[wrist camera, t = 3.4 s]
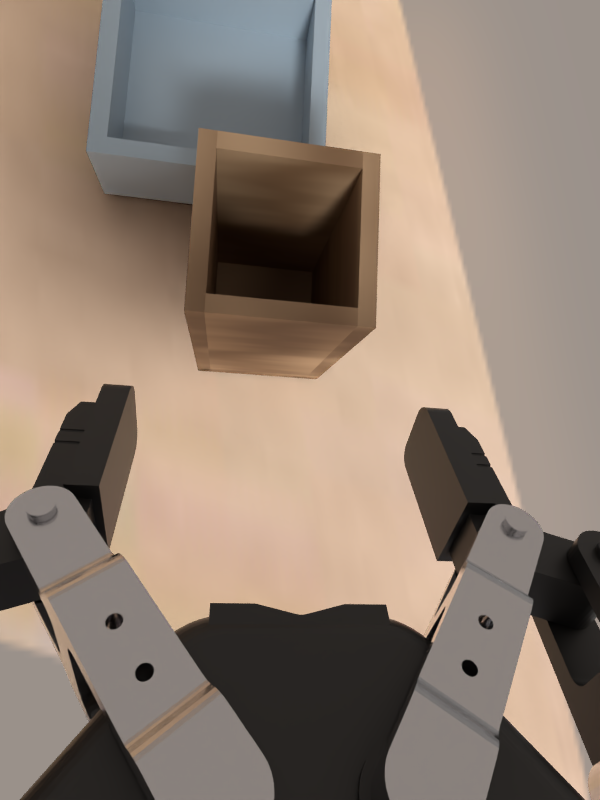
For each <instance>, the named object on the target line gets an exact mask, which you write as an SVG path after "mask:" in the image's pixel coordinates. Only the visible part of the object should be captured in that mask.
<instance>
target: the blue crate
mask: <svg viewBox="0 0 600 800" xmlns="http://www.w3.org/2000/svg"><path fill="white" fill-rule="evenodd" d="M331 4H332V0H103V3H102V12H101V21H100V30H99V39H98V48H97V57H96V66H95V75H94V84H93V93H92V102H91V111H90V120H89V129H88V138H87V147H86V152H87V154H88V157H89V159H90V161H91V164H92V166H93V168H94V171H95V173H96V175H97V177H98V180H99V182H100V184H101V187H102V189H103V191H104V193H105V194H113V195H121V196H129V197H137V198H146V199H154V200H162V201H170V202H178V203H186V204H193V193H194V180H195V168H196V155H197V143H198V130H199V128H204V129H211V130H217V131H224V132H231V133H238V134H245V135H252V136H259V137H266V138H272V139H279V140H286V141H293V142H300V143H307V144H314V145H320V146H325V143H326V120H327V97H328V74H329V50H330V27H331Z"/></svg>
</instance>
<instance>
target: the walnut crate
mask: <svg viewBox="0 0 600 800" xmlns="http://www.w3.org/2000/svg"><path fill="white" fill-rule="evenodd" d="M380 155H381V154H375V153H368V152H362V151H355V150H348V149H341V148H334V147H327V146H320V145H314V144H307V143H300V142H293V141H286V140H279V139H272V138H266V137H259V136H252V135H245V134H238V133H231V132H224V131H217V130H211V129H204V128H199V130H198V143H197V155H196V168H195V180H194V193H193V206H192V218H191V231H190V243H189V256H188V268H187V281H186V294H185V306H184V312H185V316H186V320H187V324H188V329H189V333H190V337H191V341H192V346H193V350H194V354H195V358H196V362H197V367H198V370H200V371H214V372H227V373H241V374H255V375H268V376H282V377H295V378H309V379H317V378H318V377H319V376H321V375H322V374H323V373H324V372H325V371H326V370H328V369H329V368H330V367H331V366H332V365H333V364H335V363H336V362H337V361H338V360H339V359H340V358H341V357H343V356H344V355H345V354H346V353H347V352H348V351H350V350H351V349H352V348H353V347H354V346H355V345H357V344H358V343H359V342H360V341H361V340H362V339H363V338H365V337H366V336H367V335H368V334H369V333H370V332H372V331H373V330H374V329H375V328H376V302H377V265H378V228H379V192H380Z"/></svg>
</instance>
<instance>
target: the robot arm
mask: <svg viewBox="0 0 600 800" xmlns="http://www.w3.org/2000/svg"><path fill="white" fill-rule="evenodd" d="M136 443H137V420H136V405H135V391H134V387H133V386H125V385H111V384H104V385H103V386H102V388H101V391H100V393H99V396H98V398H97V401H96V403H94V402H80V403H79V404H78V405H77V406H75V407H74V408H73V409H72V410H71V411H70V412H68V413H67V415H66V417H65V419H64V421H63V423H62V425H61V428H60V431H59V432H58V434H57V436H56V439H55V443H53V445H52V447H51V449H50V452H49V454H48V456H47V458H46V460H45V462H44V465H43V467H42V469H41V471H40V473H39V476H38V478H37V480H36V482H35V484H34V486H33V488H32V489H30V490H28V491H26V492H24V493H22V494H21V495H19V496H18V497H17V498H15V499H14V500H13V501H12V502H11V503H10V505H9V506H8V508H7V509H6V510H3V511H1V512H0V611H1V610H5V609H9V608H12V607H16V606H19V605H23V604H27V603H30V602H32V603H33V605H34V607H35V609H36V611H37V613H38V615H39V617H40V619H41V621H42V623H43V625H44V627H45V629H46V631H47V633H48V635H49V637H50V639H51V641H52V644H53V646H54V648H55V650H56V652H57V654H58V656H59V658H60V660H61V662H62V664H63V666H64V669H65V671H66V673H67V676H68V679H69V681H70V683H71V686H72V688H73V690H74V692H75V695H76V697H77V699H78V701H79V703H80V705H81V707H82V709H83V711H84V713H85V715H86V717H87V719H88V721H89V723H88V724H87V725H86V726H85V727H84V728H83V729H82V731H81V732H80V733H79V734H78V735H77V736H76V737H75V738H74V739H73V741H72V742H71V743H70V744H69V745H68V746H67V747H66V748H65V750H64V751H63V752H62V753H61V754H60V755H59V756H58V757H57V758H56V760H55V761H54V762H53V763H52V764H51V765H50V766H49V767H48V769H47V770H46V771H45V772H44V773H43V774H42V775H41V776H40V778H39V779H38V780H37V781H36V782H35V783H34V784H33V785H32V787H31V788H30V789H29V790H28V791H27V792H26V793H25V794H24V795H23V797H22V798H21V799H20V800H585V799H584V798H583V797H582V796H581V795H580V794H579V793H578V792H577V791H576V790H575V789H574V788H573V787H572V786H571V785H570V784H569V783H568V782H567V781H566V780H565V779H564V778H563V777H562V776H561V775H560V774H559V773H558V772H557V771H556V770H555V769H554V767H553V766H552V765H551V764H550V763H549V762H548V761H547V760H546V759H545V758H544V757H543V756H542V755H541V754H540V753H539V752H538V751H537V750H536V749H535V748H534V747H533V746H532V745H531V744H530V743H529V742H528V741H527V740H526V739H525V738H524V737H523V736H522V735H521V734H520V733H519V732H518V731H517V730H516V728H515V727H514V726H513V725H512V724H511V723H510V722H509V721H508V720H507V719H506V718H505V717H504V716H503V713H504V710H505V706H506V702H507V699H508V695H509V691H510V687H511V684H512V680H513V676H514V673H515V669H516V665H517V662H518V658H519V654H520V651H521V647H522V643H523V639H524V636H525V632H526V628H527V625H528V621H529V617H530V615H532V617H533V619H534V622H535V624H536V627H537V629H538V632H539V634H540V637H541V639H542V642H543V644H544V647H545V649H546V651H547V654H548V656H549V659H550V661H551V664H552V666H553V669H554V671H555V674H556V676H557V679H558V681H559V684H560V686H561V689H562V691H563V693H564V696H565V698H566V701H567V703H568V706H569V708H570V711H571V713H572V716H573V718H574V721H575V723H576V726H577V728H578V730H579V733H580V735H581V738H582V740H583V743H584V745H585V748H586V750H587V753H588V755H589V758H590V760H591V763H592V765H593V767H592V769H591V771H590V773H589V778H588V787H589V793H590V797H591V800H600V629H599V627H598V625H597V623H596V622H595V618H596V617H597V618H598V620H599V622H600V532H597V531H585V532H583V533H581V534H580V535H579V537H578V538H577V539H576V541H575V542H574V541H571V540H567V539H564V538H560V537H558V536H554V535H551V534H548V533H545V532H543V531H542V528H541V527H540V525H539V524H538V522H537V521H536V520H535V519H534V518H533V517H532V516H531V515H530V514H528V513H527V512H525V511H524V510H522V509H520V508H518V507H515V506H512V505H511V503H510V501H509V499H508V497H507V495H506V493H505V491H504V489H503V487H502V486H501V484H500V482H499V480H498V478H497V476H496V474H495V472H494V470H493V468H492V467H490V463H489V461H488V459H487V457H486V456H484V454H485V453H484V451H483V449H482V448H481V446H480V444H479V442H478V440H477V439H476V438H475V437H474V436H473V435H472V434H471V433H470V432H469V431H468V430H467V429H466V428H464V427H458V426H457V424H456V422H455V420H454V418H453V416H452V413H451V412H450V411H449V410H448V409H439V408H425V407H423V408H421V409H420V410H419V412H418V415H417V417H416V420H415V423H414V425H413V428H412V431H411V433H410V436H409V439H408V441H407V444H406V447H405V453H404V462H405V467H406V470H407V473H408V476H409V479H410V482H411V485H412V488H413V491H414V494H415V497H416V500H417V503H418V506H419V509H420V512H421V515H422V518H423V521H424V524H425V527H426V530H427V533H428V536H429V538H430V541H431V544H432V547H433V550H434V553H435V556H436V559H437V561H453V563H454V566H455V570H454V572H453V573H452V575H451V577H450V580H449V582H448V584H447V586H446V588H445V591H444V593H443V595H442V597H441V599H440V602H439V604H438V606H437V608H436V610H435V613H434V615H433V617H432V619H431V621H430V623H429V626H428V628H427V630H426V632H425V634H424V635H421V634H420V633H418V632H417V631H415V630H414V629H412V628H410V627H408V626H407V625H405V624H402V623H400V622H397V621H395V620H392V619H389V616H388V611H387V607H386V605H365V604H344V605H340V606H336V607H332V608H329V609H325V610H321V611H317V612H313V613H309V614H305V615H298V614H293V613H290V612H286V611H282V610H278V609H274V608H270V607H266V606H262V605H259V604H239V603H210V615H209V617H207V618H203V619H199V620H197V621H194V622H192V623H189V624H187V625H185V626H183V627H181V628H179V629H178V630H176V631H175V632H174V631H173V629H172V628H171V626H170V625H169V623H168V622H167V620H166V619H165V617H164V616H163V614H162V613H161V611H160V610H159V608H158V607H157V605H156V604H155V602H154V601H153V599H152V598H151V596H150V595H149V593H148V592H147V590H146V589H145V587H144V586H143V584H142V583H141V581H140V580H139V578H138V577H137V575H136V574H135V572H134V571H133V569H132V568H131V566H130V565H129V563H128V562H127V561H126V559H125V558H124V557H123V556H122V555H121V554H119V553H118V554H116V555H114V554H113V553H112V552H111V551H110V549H109V548H110V545H111V541H112V537H113V533H114V530H115V526H116V522H117V518H118V514H119V511H120V507H121V503H122V499H123V496H124V492H125V488H126V484H127V480H128V477H129V473H130V469H131V465H132V462H133V458H134V454H135V450H136Z"/></svg>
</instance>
